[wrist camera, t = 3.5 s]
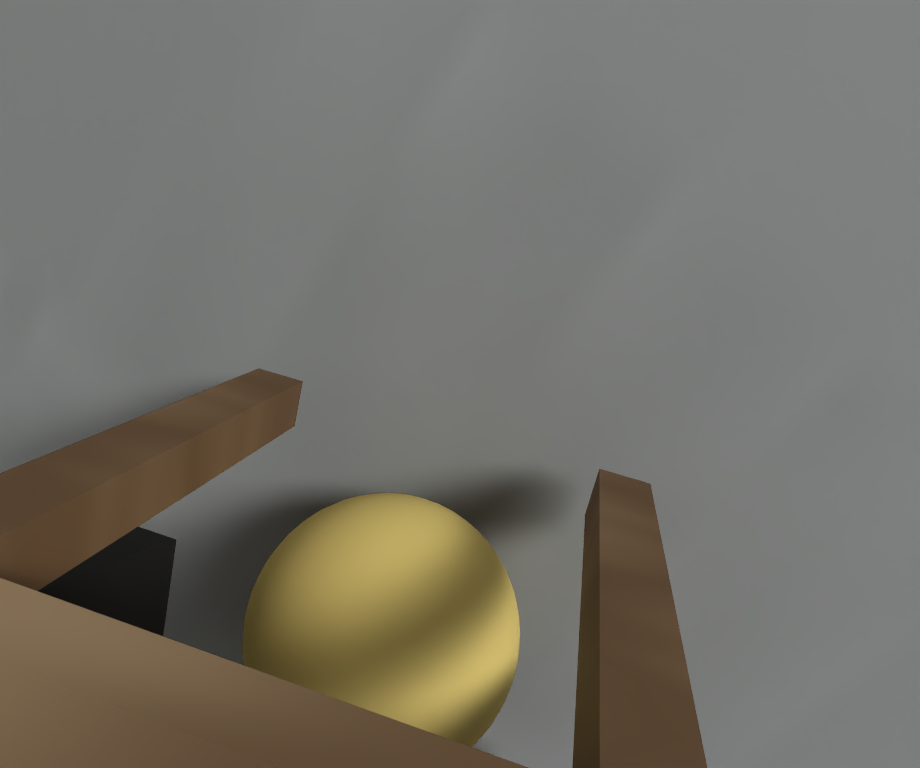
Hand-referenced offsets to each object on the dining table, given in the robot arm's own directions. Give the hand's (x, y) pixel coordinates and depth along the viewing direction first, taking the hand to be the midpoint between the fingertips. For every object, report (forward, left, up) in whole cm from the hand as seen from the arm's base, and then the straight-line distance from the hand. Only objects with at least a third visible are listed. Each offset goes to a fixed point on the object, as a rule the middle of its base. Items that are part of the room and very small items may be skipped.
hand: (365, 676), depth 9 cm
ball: (0, 0, -3) cm, 3 cm away
